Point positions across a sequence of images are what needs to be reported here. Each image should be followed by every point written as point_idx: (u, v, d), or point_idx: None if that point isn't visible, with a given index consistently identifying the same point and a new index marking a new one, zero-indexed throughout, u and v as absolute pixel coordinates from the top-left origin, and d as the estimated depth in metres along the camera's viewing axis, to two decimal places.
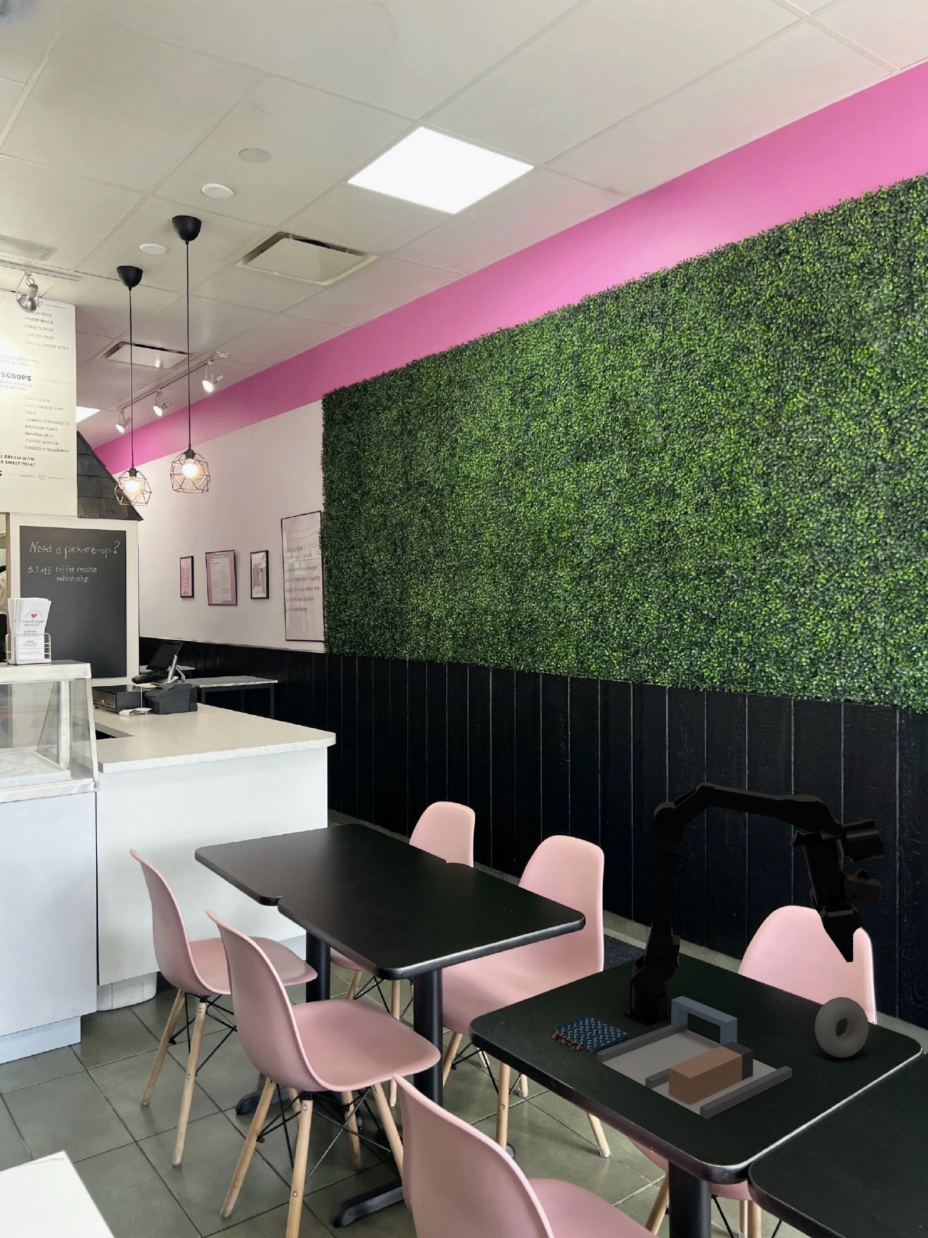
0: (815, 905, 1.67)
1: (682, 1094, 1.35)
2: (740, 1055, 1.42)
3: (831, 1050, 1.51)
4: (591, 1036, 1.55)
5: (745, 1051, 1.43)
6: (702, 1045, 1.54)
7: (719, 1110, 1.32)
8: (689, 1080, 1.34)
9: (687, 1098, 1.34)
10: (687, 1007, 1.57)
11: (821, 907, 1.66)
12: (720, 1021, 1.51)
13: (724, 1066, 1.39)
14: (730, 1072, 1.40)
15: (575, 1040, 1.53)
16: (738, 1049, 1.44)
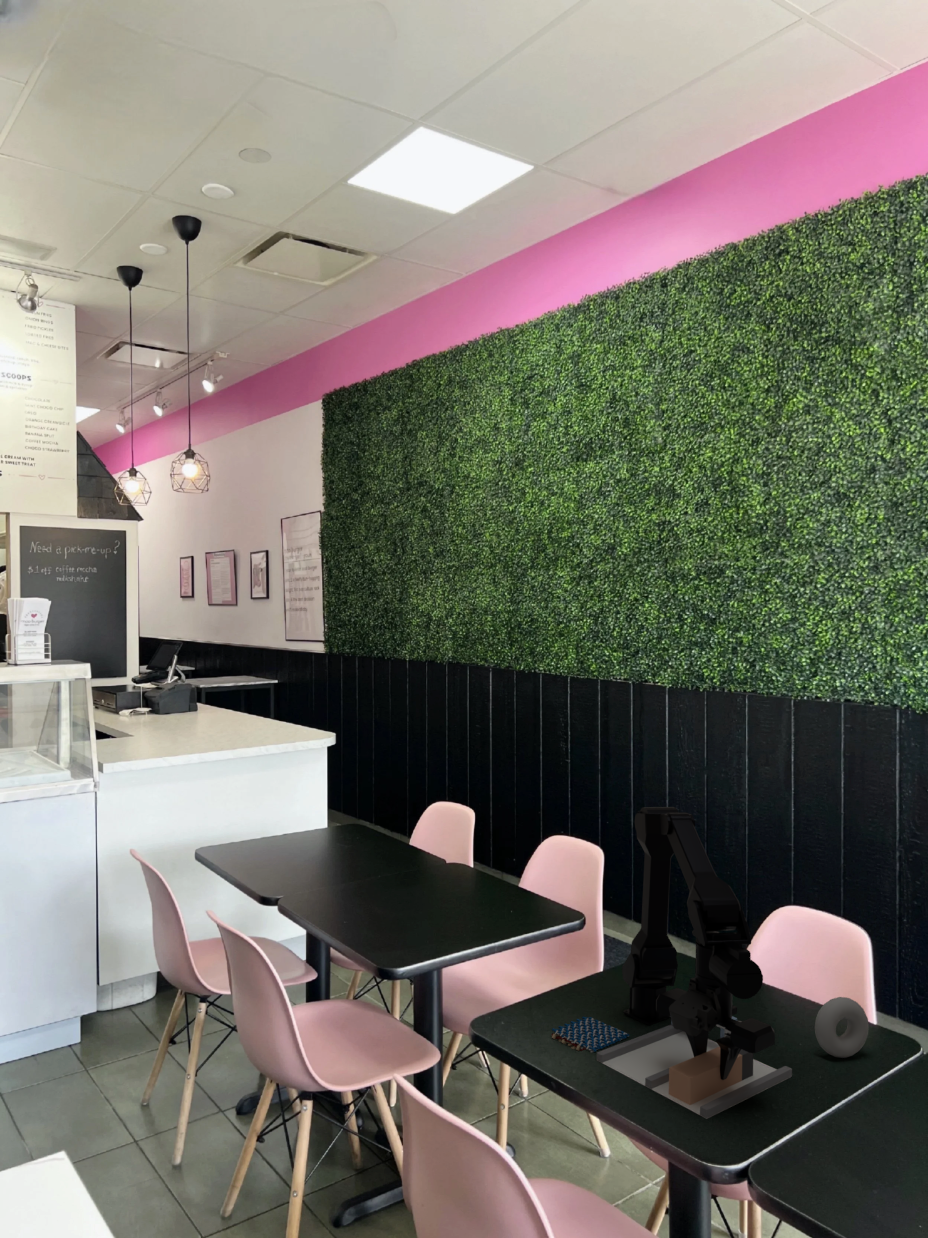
0: None
1: (682, 1094, 1.35)
2: (740, 1055, 1.42)
3: (831, 1050, 1.51)
4: (591, 1036, 1.55)
5: (745, 1051, 1.43)
6: None
7: (719, 1110, 1.32)
8: (689, 1080, 1.34)
9: (687, 1098, 1.34)
10: None
11: None
12: None
13: None
14: (730, 1072, 1.40)
15: (575, 1040, 1.53)
16: None
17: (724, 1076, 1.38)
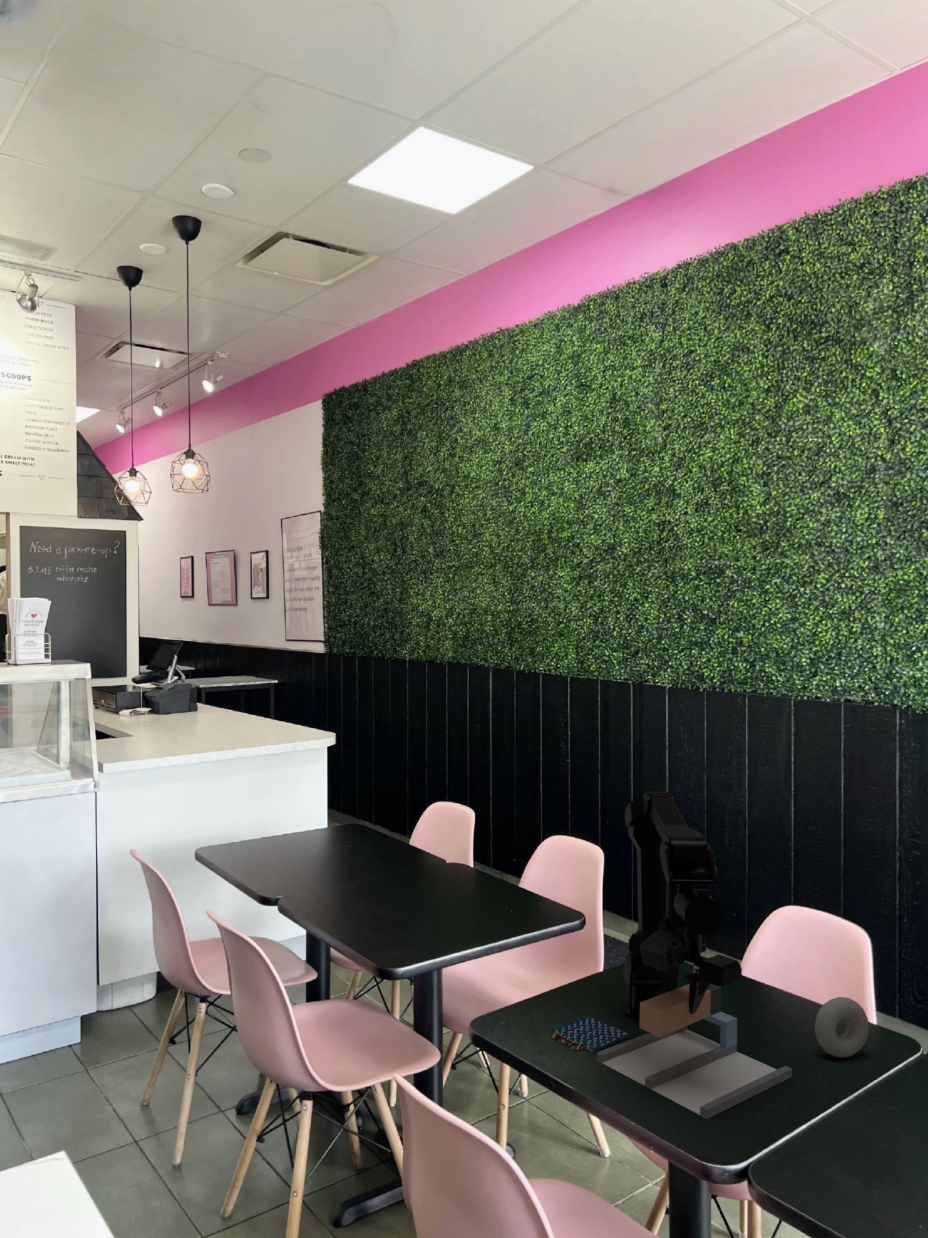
0: None
1: (652, 1027, 1.40)
2: (709, 991, 1.47)
3: (831, 1050, 1.51)
4: (591, 1036, 1.55)
5: (713, 988, 1.48)
6: (702, 1045, 1.54)
7: (719, 1110, 1.32)
8: (659, 1013, 1.39)
9: (657, 1030, 1.39)
10: None
11: None
12: (720, 1021, 1.51)
13: None
14: (699, 1007, 1.45)
15: (575, 1040, 1.53)
16: None
17: (693, 1010, 1.43)
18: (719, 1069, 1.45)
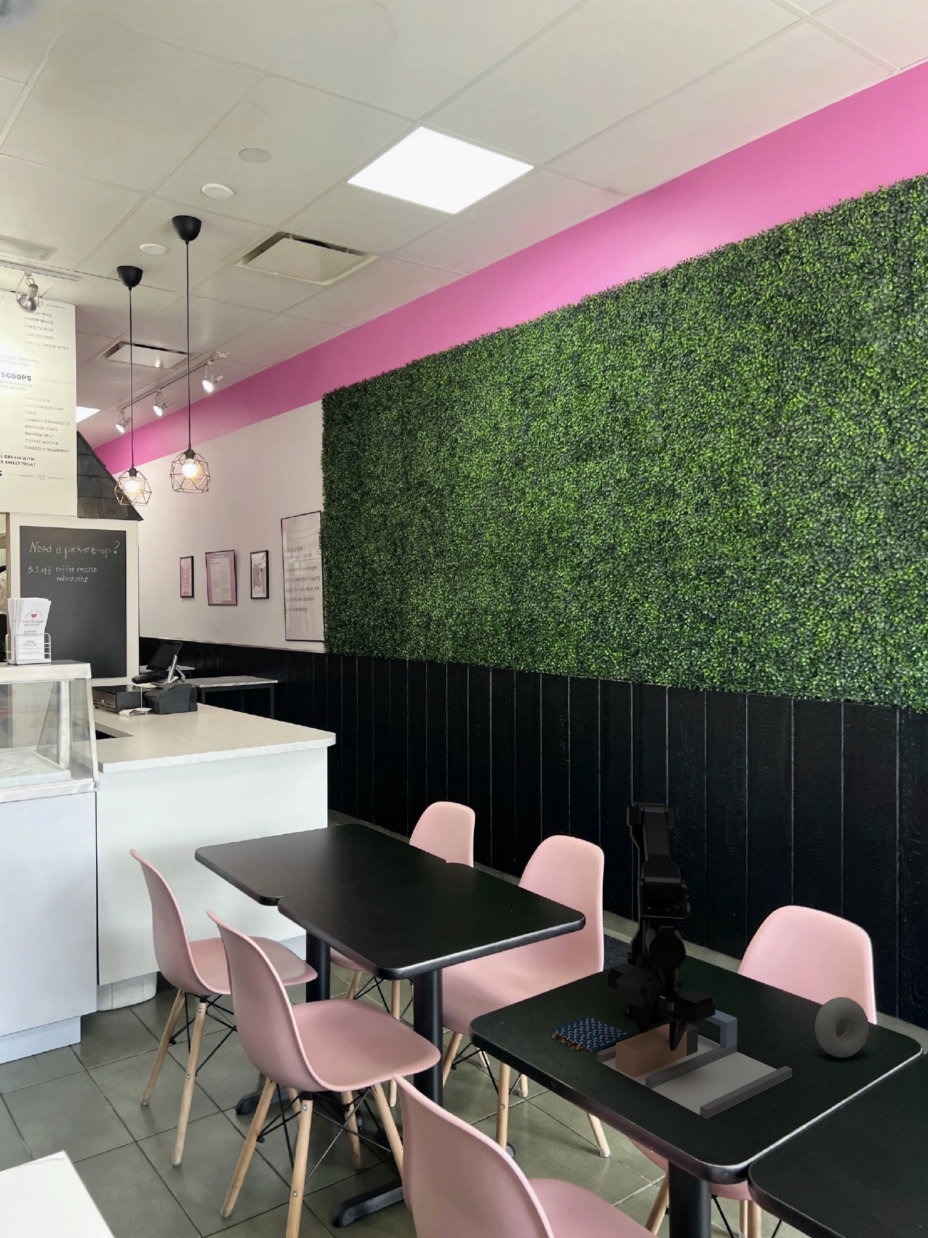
0: None
1: (627, 1068, 1.43)
2: (685, 1031, 1.50)
3: (831, 1050, 1.51)
4: (591, 1036, 1.55)
5: (690, 1028, 1.51)
6: (702, 1045, 1.54)
7: (719, 1110, 1.32)
8: (634, 1054, 1.42)
9: (632, 1071, 1.42)
10: None
11: None
12: (720, 1021, 1.51)
13: None
14: None
15: (575, 1040, 1.53)
16: None
17: (673, 1047, 1.45)
18: (719, 1069, 1.45)
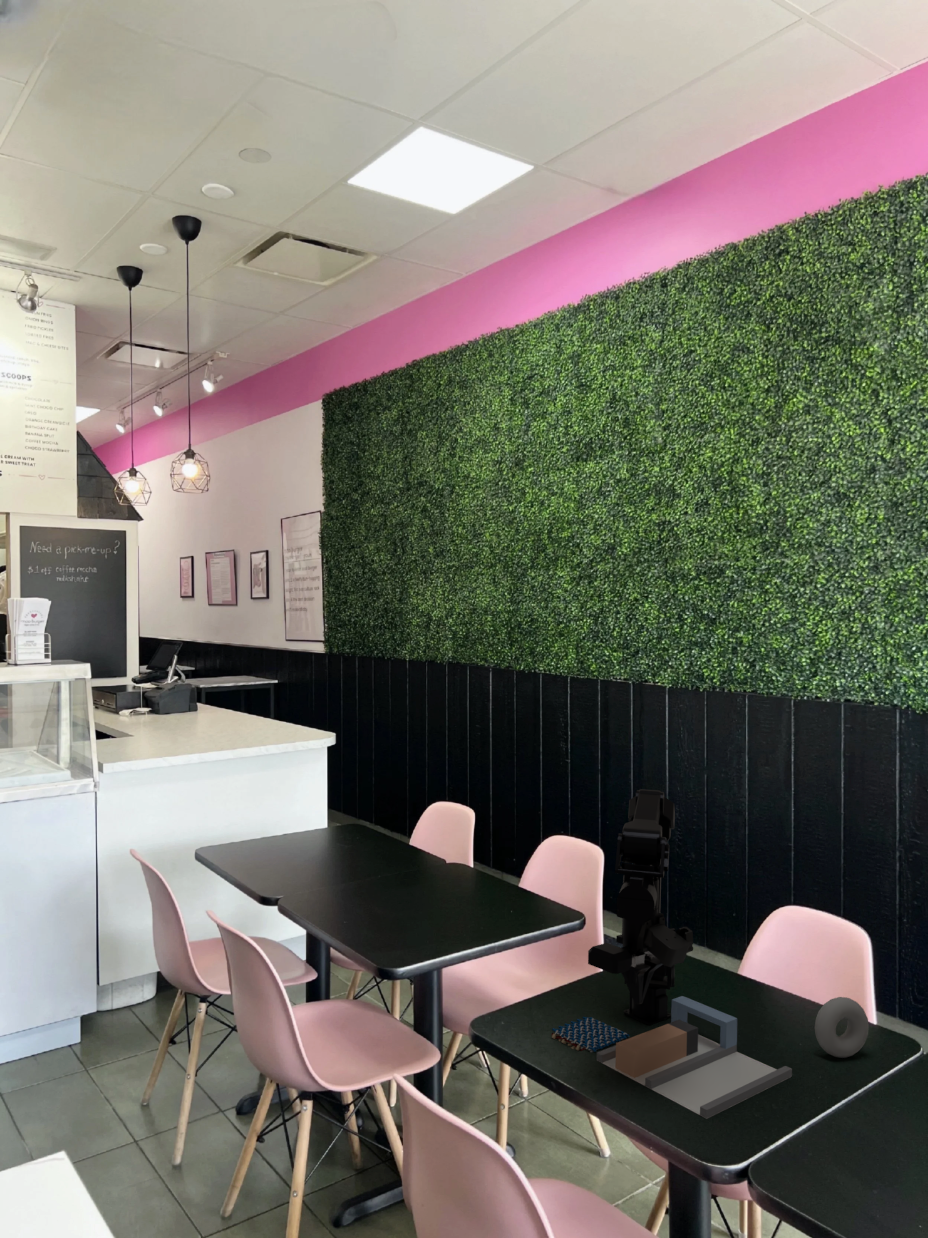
0: None
1: (627, 1068, 1.43)
2: (685, 1031, 1.50)
3: (831, 1050, 1.51)
4: (591, 1036, 1.55)
5: (690, 1028, 1.51)
6: (702, 1045, 1.54)
7: (719, 1110, 1.32)
8: (634, 1054, 1.42)
9: (632, 1071, 1.42)
10: (687, 1007, 1.57)
11: None
12: (720, 1021, 1.51)
13: (669, 1042, 1.47)
14: (675, 1048, 1.48)
15: (575, 1040, 1.53)
16: (683, 1026, 1.52)
17: None
18: (719, 1069, 1.45)
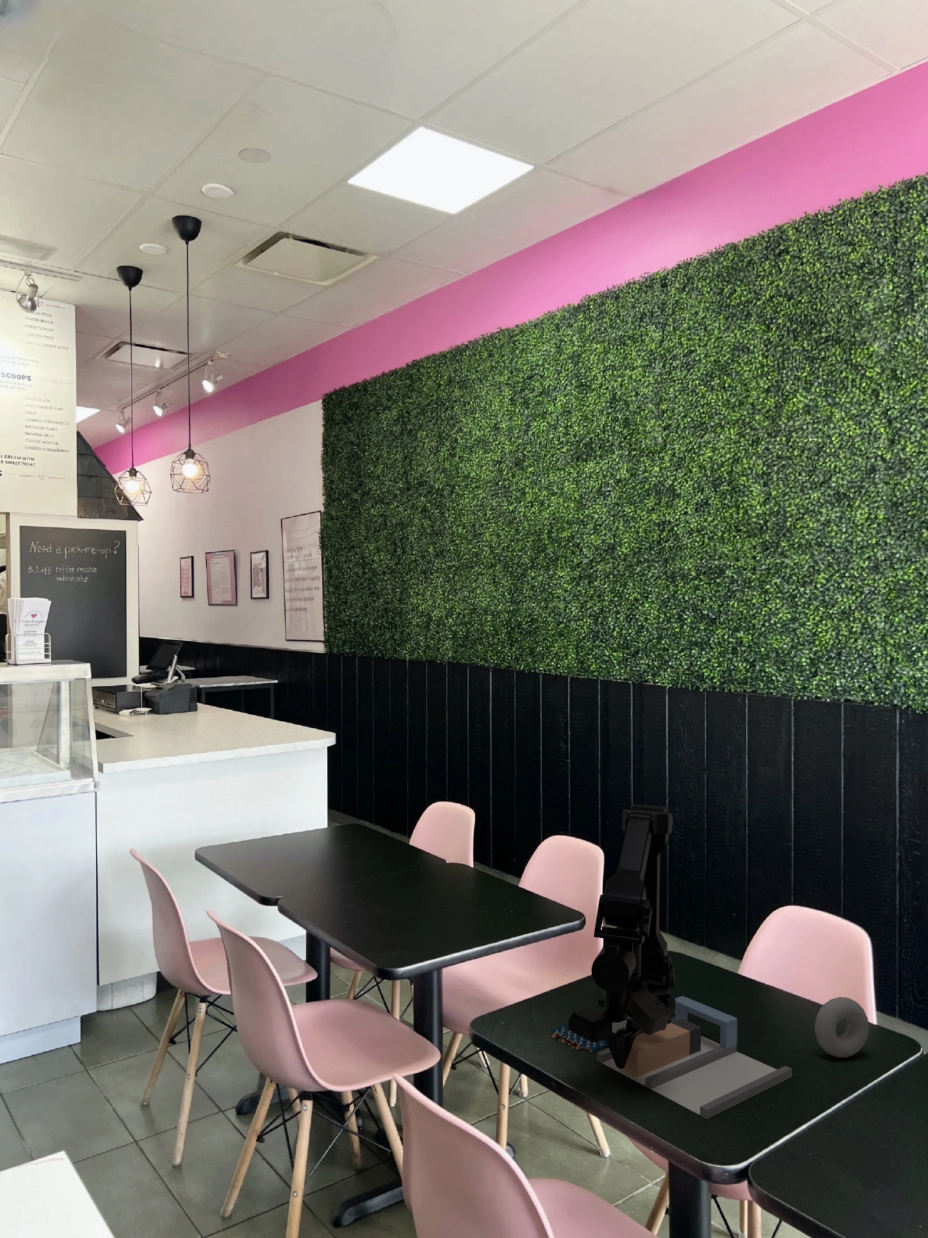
0: None
1: (630, 1067, 1.43)
2: (688, 1031, 1.50)
3: (831, 1050, 1.51)
4: None
5: (693, 1027, 1.52)
6: (702, 1045, 1.54)
7: (719, 1110, 1.32)
8: (637, 1053, 1.42)
9: (635, 1070, 1.42)
10: (687, 1007, 1.57)
11: None
12: (720, 1021, 1.51)
13: (672, 1041, 1.47)
14: (678, 1047, 1.48)
15: (575, 1040, 1.53)
16: (686, 1026, 1.52)
17: None
18: (719, 1069, 1.45)
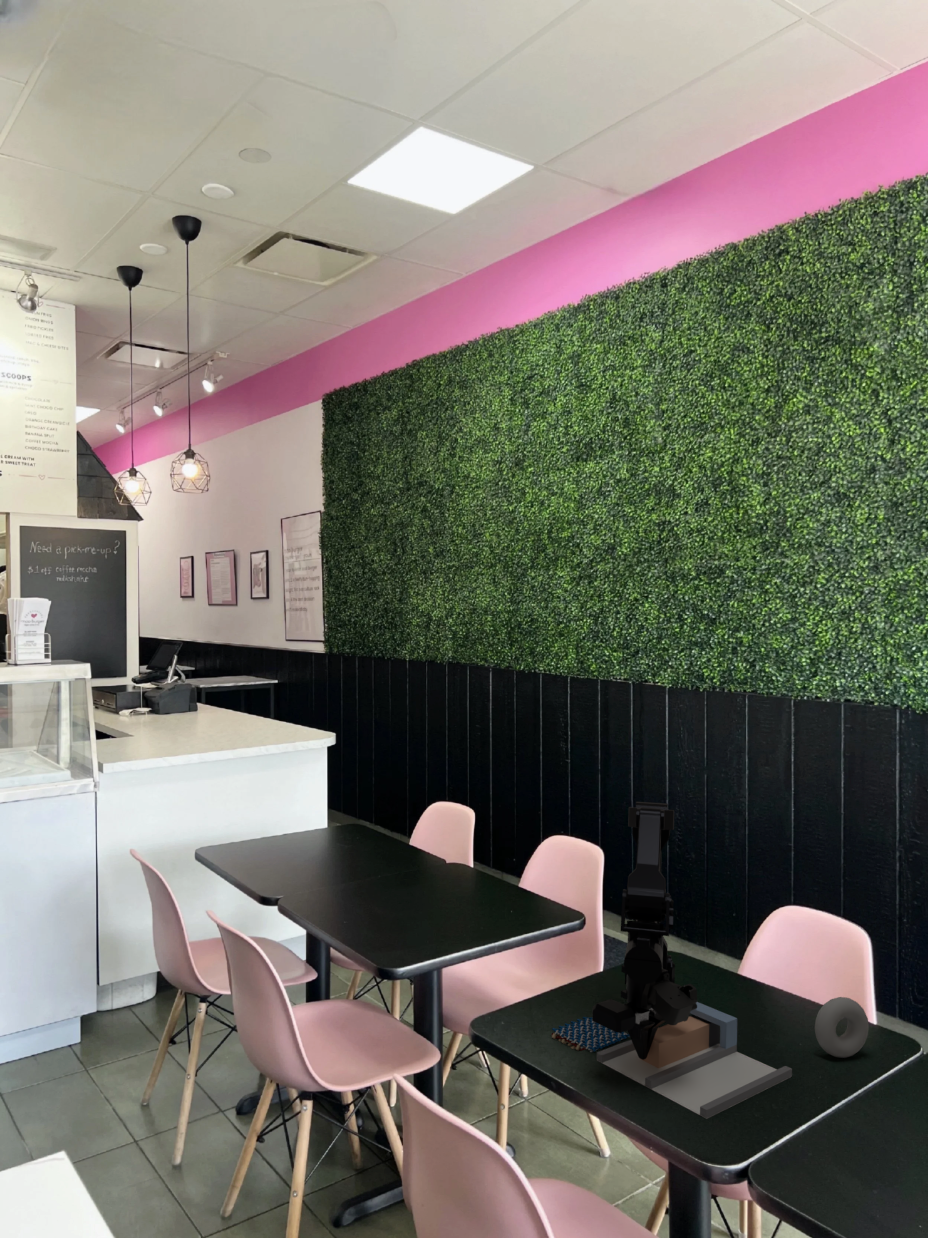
0: None
1: (652, 1058, 1.46)
2: (708, 1023, 1.53)
3: (831, 1050, 1.51)
4: (591, 1036, 1.55)
5: None
6: None
7: (719, 1110, 1.32)
8: (658, 1045, 1.45)
9: (656, 1062, 1.45)
10: None
11: None
12: (720, 1021, 1.51)
13: (692, 1034, 1.50)
14: (697, 1039, 1.51)
15: (575, 1040, 1.53)
16: None
17: None
18: (719, 1069, 1.45)
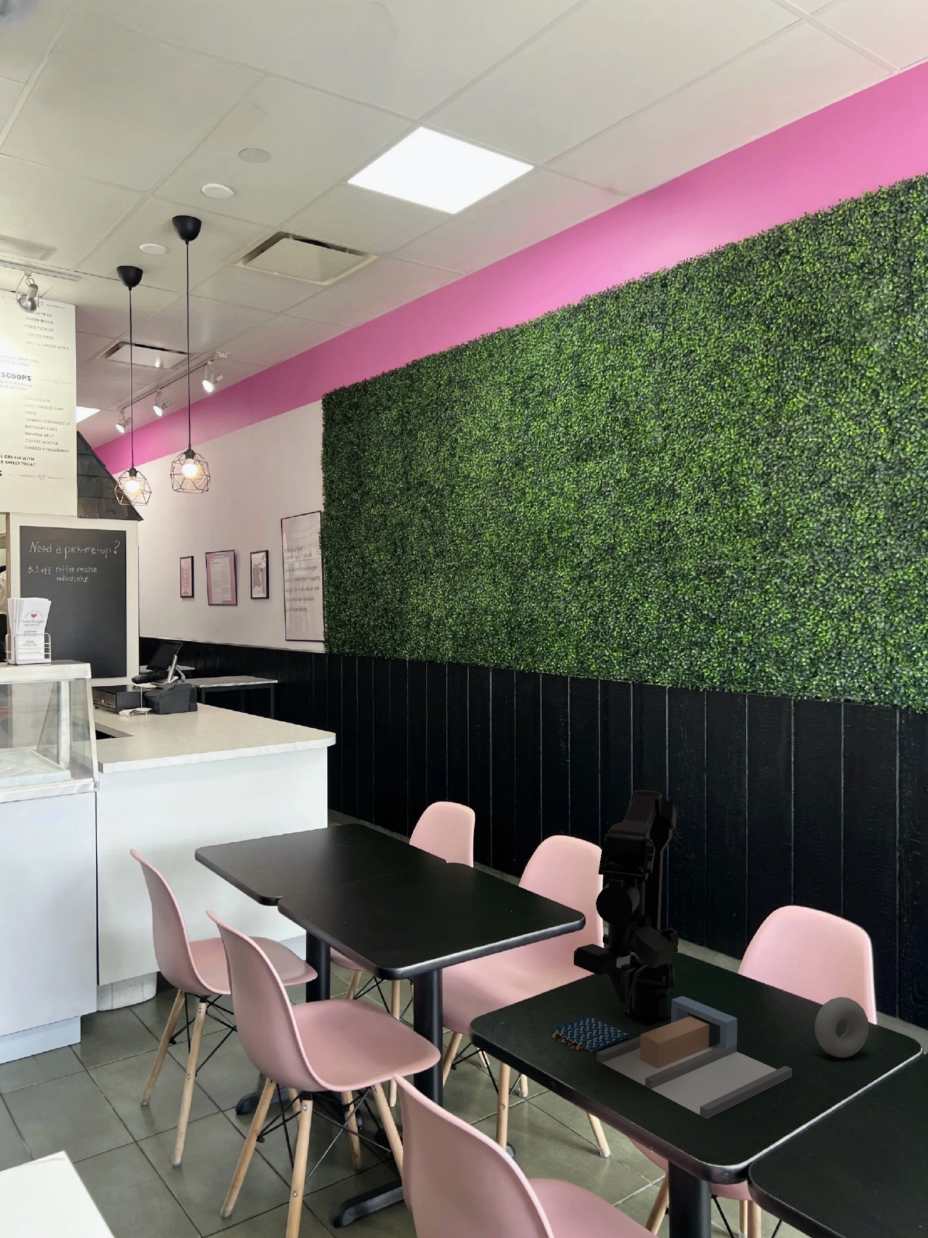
0: None
1: (652, 1058, 1.46)
2: (708, 1023, 1.53)
3: (831, 1050, 1.51)
4: (591, 1036, 1.55)
5: None
6: None
7: (719, 1110, 1.32)
8: (658, 1045, 1.45)
9: (656, 1062, 1.45)
10: (687, 1007, 1.57)
11: None
12: (720, 1021, 1.51)
13: (692, 1034, 1.50)
14: (697, 1039, 1.51)
15: (575, 1040, 1.53)
16: None
17: None
18: (719, 1069, 1.45)
